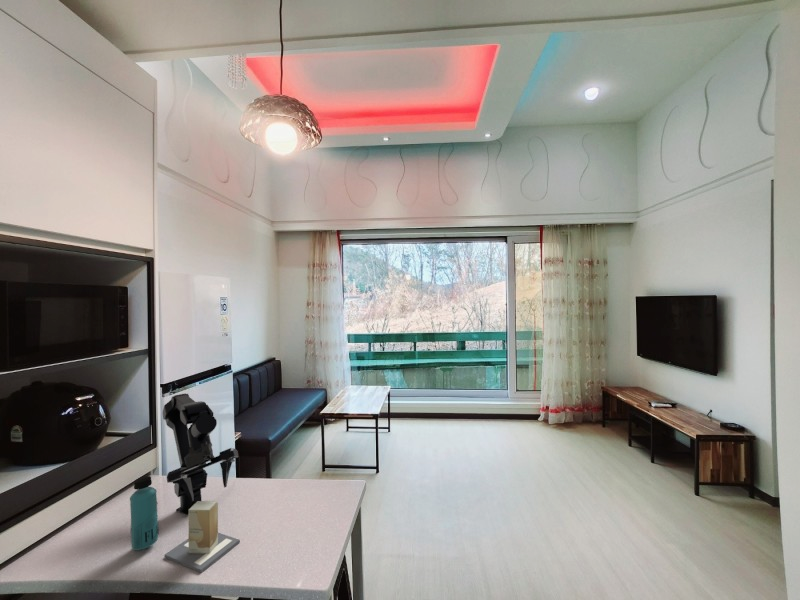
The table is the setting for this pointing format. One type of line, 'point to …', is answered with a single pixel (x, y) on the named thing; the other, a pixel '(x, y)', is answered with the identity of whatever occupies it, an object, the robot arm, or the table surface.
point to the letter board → (201, 559)
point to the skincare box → (203, 526)
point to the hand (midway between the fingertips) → (209, 494)
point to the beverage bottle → (143, 514)
